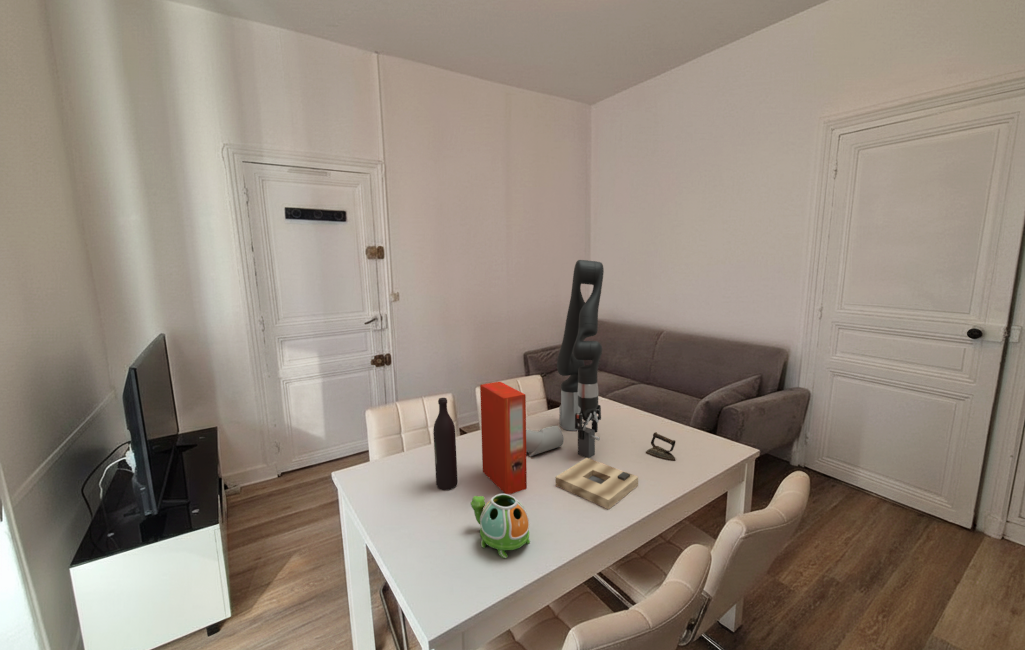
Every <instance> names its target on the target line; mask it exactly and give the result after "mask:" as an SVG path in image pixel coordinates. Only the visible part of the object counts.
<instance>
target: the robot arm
mask: <svg viewBox="0 0 1025 650" xmlns="http://www.w3.org/2000/svg"><path fill="white" fill-rule="evenodd" d="M604 273H605V272H604V265H603V262H600V261H596V260H587V259H578V260H577V261H576V262H575V265H574V270H573V274H572V275H573V276H572V284H571V292H570V300H569V305H568V309H567V312H566V314H567V315H566V320H565V324H564V325H565V327H564V331H563V332H564V333H563V337H562V340H561V341H562V342H561V345H560V350H559V352H558V355H557V362H556V368H557V372H558V374H559V375H560V376H562V377H565V376H566V377H568V376H569V377H568V378H567V379H565V380H564V381H562V382H561V383H560V391H561V393H560V397H561V398H560V399H561V400H560V401H561V402H560V403H561V404H560V405H559V406H558V407H559V427H561V428H562V429H563V430H565V431H570V432H571V431H578V430H579V438H580V439H582V440H584V439H585V427H587V426H588V425H589V422H590V421H591V429H594V430H595V434H596V433H598V424H599V422H600V421H601V420H602V407H601V405H600V404H599V383H598V371H599V365H600V360H601V357H602V353H603V346H602V344H601V342H599V341H597V340H592V341H591V340H585V339H587V338H589V337H595V336H596V335H598V331H599V330H598V329H599V327H598V324H599V323H598V322H599V307H600V301H601V300H600V299H601V296H602V288H603V280H604ZM582 285H590V286H591V285H592V286H593V288H592V291H591V293H590V295H589V297H588V298H587V299H586V301H585V300H584V297H583V295H582V289H581V286H582ZM585 361H592V362H590V364H585Z"/></svg>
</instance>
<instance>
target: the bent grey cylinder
mask: <svg viewBox="0 0 1025 650" xmlns="http://www.w3.org/2000/svg"><path fill="white" fill-rule="evenodd" d="M562 431H563V430H562V429H561V428H560V426H558V425H552V426H548V427H545V428H541V429H539V431H536V430H531V429H526V453H528V455H529V457H533V456H536V455H539V454H542V453H544V452H547V451H551V450H554V449H556V448H560V447H562V446H563V444H564V441H565V438H564V433H563V432H562Z"/></svg>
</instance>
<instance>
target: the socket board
mask: <svg viewBox="0 0 1025 650" xmlns="http://www.w3.org/2000/svg"><path fill="white" fill-rule="evenodd" d="M554 480H555V486H556V487H558V488H559V489H560V488H561V489H563V490H565V491H567V492H569V493H571V494H573V495H576V496H578V497H580V498H582V499H585V500H587V501H589V502H591V503H593V504H596V505H598V506H600V507H603V508H605V509H606V510H610V509H611V508H612V507H613V506H615V505H616V504H617V503H619V502H620V501H621V500H622V499H624V497H626V496H627V495H629V493H631V492H632V491H633V490H634V489H635V488H637V487H638V486H639V476H637V475H635V474H632V473H630V472H627V471H624V470H621V469H619V468H616V467H613V466H610V465H608V464H605V463H603V462H600V461H596V460H594V459H593V458H586V457H584V458H583V460H580V461H578V462H577V463H576V464H574V465H573V466H571V467H569V468H567V469H566V470H564V471H563V472H561V473H560V474H558V475H556V476H555V479H554Z"/></svg>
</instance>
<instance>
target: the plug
mask: <svg viewBox="0 0 1025 650" xmlns="http://www.w3.org/2000/svg"><path fill="white" fill-rule="evenodd" d="M596 441H600V437H599V436H596V433H595V430H594V429H592V428H590V427H588V426H586V427H585V439H584V440H582V439H580V438H579V430H577V455H578V456H581V457H584V458H589V459H592V457H594V456H595V454H596V451H595V450H596Z"/></svg>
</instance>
